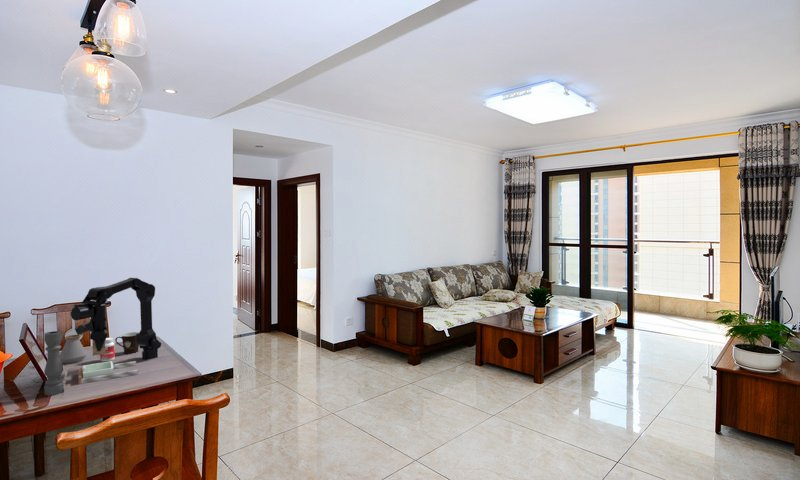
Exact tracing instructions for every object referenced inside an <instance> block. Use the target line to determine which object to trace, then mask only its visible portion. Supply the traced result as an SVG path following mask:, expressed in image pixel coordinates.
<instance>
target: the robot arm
mask: <svg viewBox="0 0 800 480" xmlns="http://www.w3.org/2000/svg"><path fill="white" fill-rule="evenodd" d="M129 289H132V290H133V291H134V292H135V294H136V297H137V299H138V301H139V306H140V307H139V309H140V331H139V333H138V334H136V337H137V340H136V342H137V343H138V344H139V349H142V351H141V360H143V361H144V360H154V359H156V358H158V357H159V356H158V355H159V353H158V352H159V351H158V350H159V349H160V348H161V347H162V343H161V342H160V341H159V340H158V339H157V334H156V332H155V331H154V328H153V311H152V309H153V308H152V307H153V304H152V302H153V298H154V297H155V296H156V295H155V294H156V287H155V286H154V285H153V283H152V284H151V283H149V282H146V281H143V280H141V279H140V278H138V277H129V278H127V279H124V280H121V281H118V282H115V283H112V284H110V285H107V286H97V287H91V288H89V290H88V292H87V294H86V295H85V297H84V299H83V300H82V301H81V303H78V304H74V307H72V309H71V311H70V318H71V319H72V320H73V321H81V320H84V319H85V320H86V319H89V321H87V322H85V323H81V324H79V325H77V326H75V327H74V331H75V333H76V335H81V334H82V333H84V332H85V333H87V332H90V333H89V340H91V341H93V340H94V341H95V345H96V348H97V351H98V352H99V351H101V349H102V346H103V344H104V342H105V340H106V338H108V329H107V327H108V326H107V306H108V305H111V302H110V301H108V299H110V298H111V297H112V296H113V295H115V294H118V293H121V292H123V291H125V290H129ZM85 333H84V334H85Z"/></svg>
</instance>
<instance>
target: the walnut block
mask: <svg viewBox="0 0 800 480" xmlns="http://www.w3.org/2000/svg"><path fill="white" fill-rule="evenodd" d="M101 354H105V342H104V344H103V346H102V349H101V351H99V352H98V351H97V348H96V345H95V341H94V340H92V356H100V355H101Z"/></svg>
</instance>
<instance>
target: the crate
mask: <svg viewBox="0 0 800 480" xmlns="http://www.w3.org/2000/svg"><path fill="white" fill-rule="evenodd" d="M113 361H114V360H112V361H107V362H97V363H91V364H86V365H85V364H84V365H83V366H82V369H83V374H82V379H84V378H90V377H96V376H103V375H109V374H115V371H114V370H115V369H113V365H114V363H113Z"/></svg>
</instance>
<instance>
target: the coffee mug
mask: <svg viewBox="0 0 800 480" xmlns="http://www.w3.org/2000/svg"><path fill="white" fill-rule="evenodd" d="M139 332H140V331H139ZM139 332H138V331H137V332H135V331H133V332H126V333H123V334H121V336H117V337H116V338H115V340H114V342H115V344H117V345H119V346H120V347H122V348H123V353H124V354H125V355H134V354H136V352H137V353H139V349H140V346H139V344H138V343H137V342H136V340H137V337H136V334H138V333H139ZM118 339H122V344H121V343H119V342H118V341H117V340H118ZM133 353H134V354H133Z"/></svg>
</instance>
